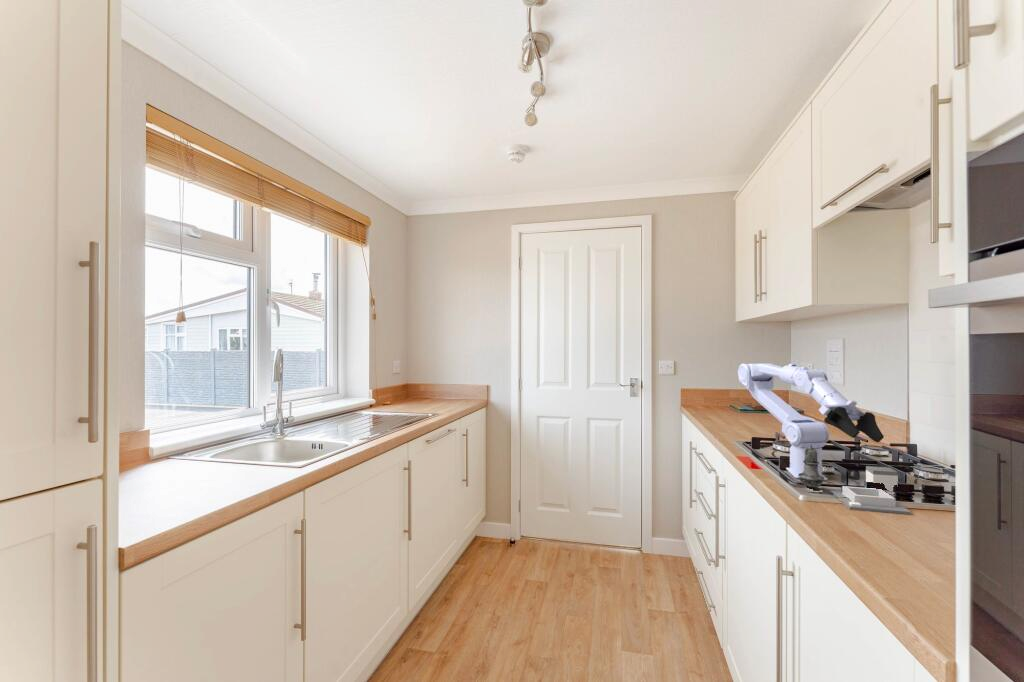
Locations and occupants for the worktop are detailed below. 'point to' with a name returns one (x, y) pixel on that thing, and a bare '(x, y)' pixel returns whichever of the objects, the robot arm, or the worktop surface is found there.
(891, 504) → the socket plate
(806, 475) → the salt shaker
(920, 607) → the worktop surface
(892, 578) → the worktop surface
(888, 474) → the plug
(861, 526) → the worktop surface
